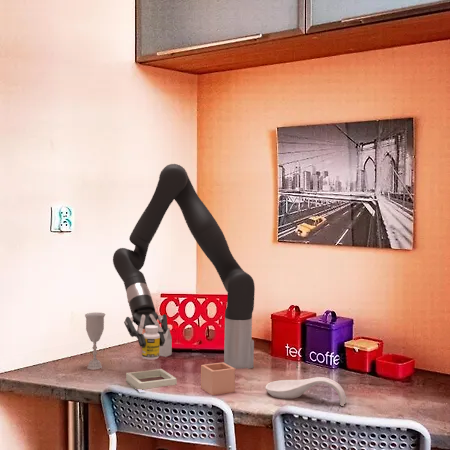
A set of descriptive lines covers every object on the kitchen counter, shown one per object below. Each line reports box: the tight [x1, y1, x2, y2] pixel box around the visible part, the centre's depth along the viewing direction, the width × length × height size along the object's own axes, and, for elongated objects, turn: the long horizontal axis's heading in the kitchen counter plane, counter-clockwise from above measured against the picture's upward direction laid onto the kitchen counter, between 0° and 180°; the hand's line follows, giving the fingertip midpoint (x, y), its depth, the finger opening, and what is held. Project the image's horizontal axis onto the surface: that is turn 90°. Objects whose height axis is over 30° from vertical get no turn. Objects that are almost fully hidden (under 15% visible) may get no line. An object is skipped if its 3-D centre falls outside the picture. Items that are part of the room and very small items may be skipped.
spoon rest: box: [265, 376, 347, 407], centre depth 199 cm, size 24×12×7 cm, turn 71°
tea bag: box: [159, 326, 173, 358], centre depth 247 cm, size 4×7×10 cm, turn 62°
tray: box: [125, 368, 178, 390], centre depth 210 cm, size 12×12×3 cm
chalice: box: [84, 312, 106, 370], centre depth 228 cm, size 7×7×18 cm
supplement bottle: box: [141, 325, 160, 360], centre depth 209 cm, size 5×5×10 cm
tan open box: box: [200, 361, 236, 396], centre depth 203 cm, size 8×8×8 cm
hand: (153, 345), depth 208 cm, fingers closed on supplement bottle, 5 cm apart
